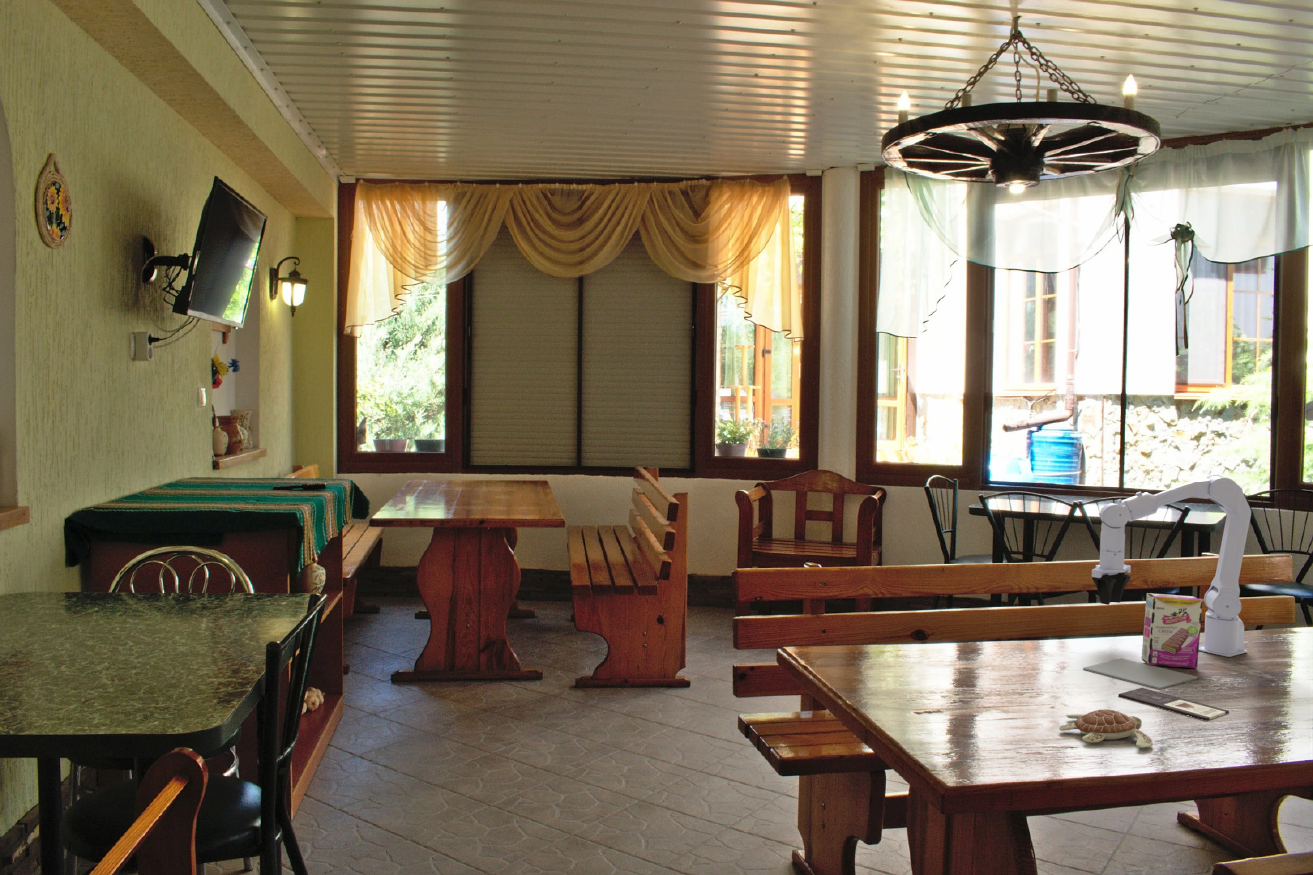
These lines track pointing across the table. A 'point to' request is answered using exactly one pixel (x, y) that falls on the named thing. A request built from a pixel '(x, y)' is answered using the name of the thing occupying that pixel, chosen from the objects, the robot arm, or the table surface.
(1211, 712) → the chocolate bar
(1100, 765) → the table surface
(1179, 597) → the candy bar box
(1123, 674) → the rubber mat
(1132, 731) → the decorative turtle
